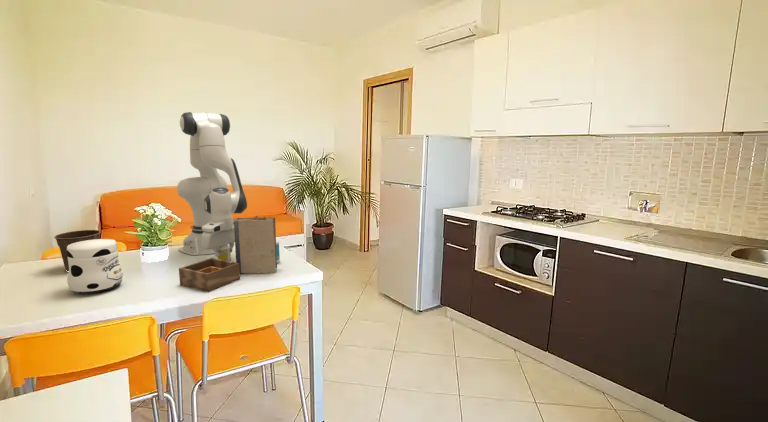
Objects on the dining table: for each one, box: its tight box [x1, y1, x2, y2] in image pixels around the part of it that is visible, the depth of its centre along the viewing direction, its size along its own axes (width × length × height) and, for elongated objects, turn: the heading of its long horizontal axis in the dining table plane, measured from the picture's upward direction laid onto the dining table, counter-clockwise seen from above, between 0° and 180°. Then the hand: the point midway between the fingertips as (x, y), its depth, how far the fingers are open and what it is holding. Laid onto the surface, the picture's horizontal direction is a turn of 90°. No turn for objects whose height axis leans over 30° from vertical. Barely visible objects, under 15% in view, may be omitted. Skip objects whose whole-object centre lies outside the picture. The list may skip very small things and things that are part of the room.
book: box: [233, 215, 278, 274], centre depth 174 cm, size 17×7×25 cm, turn 99°
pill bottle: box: [276, 238, 281, 264], centre depth 188 cm, size 8×7×14 cm
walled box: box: [178, 257, 241, 293], centre depth 162 cm, size 16×16×7 cm
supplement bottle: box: [217, 242, 232, 262], centre depth 179 cm, size 5×5×10 cm
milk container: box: [66, 238, 124, 294], centre depth 153 cm, size 17×17×18 cm
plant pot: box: [53, 229, 102, 271], centre depth 176 cm, size 16×16×16 cm
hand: (223, 254), depth 180 cm, fingers closed on supplement bottle, 5 cm apart
